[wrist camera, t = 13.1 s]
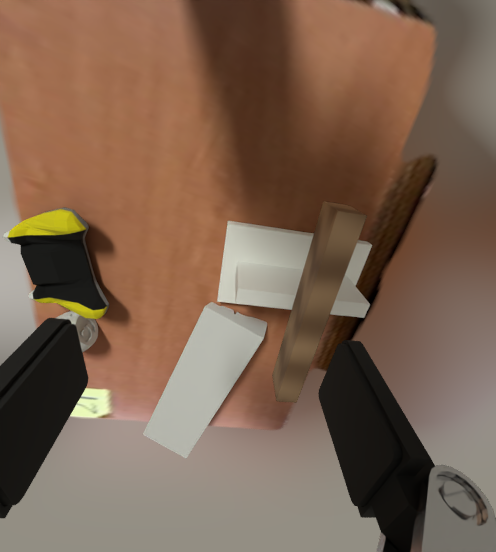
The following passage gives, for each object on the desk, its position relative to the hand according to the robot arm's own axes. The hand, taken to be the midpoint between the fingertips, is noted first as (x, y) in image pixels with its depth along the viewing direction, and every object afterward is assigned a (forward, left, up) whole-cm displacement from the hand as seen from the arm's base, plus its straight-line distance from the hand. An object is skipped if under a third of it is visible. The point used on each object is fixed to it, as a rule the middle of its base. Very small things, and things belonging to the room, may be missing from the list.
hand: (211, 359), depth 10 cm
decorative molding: (+33, -1, -28) cm, 43 cm away
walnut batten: (+9, +10, -18) cm, 23 cm away
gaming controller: (+11, -20, -28) cm, 36 cm away
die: (+22, -21, -28) cm, 41 cm away
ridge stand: (+8, +10, -27) cm, 30 cm away
